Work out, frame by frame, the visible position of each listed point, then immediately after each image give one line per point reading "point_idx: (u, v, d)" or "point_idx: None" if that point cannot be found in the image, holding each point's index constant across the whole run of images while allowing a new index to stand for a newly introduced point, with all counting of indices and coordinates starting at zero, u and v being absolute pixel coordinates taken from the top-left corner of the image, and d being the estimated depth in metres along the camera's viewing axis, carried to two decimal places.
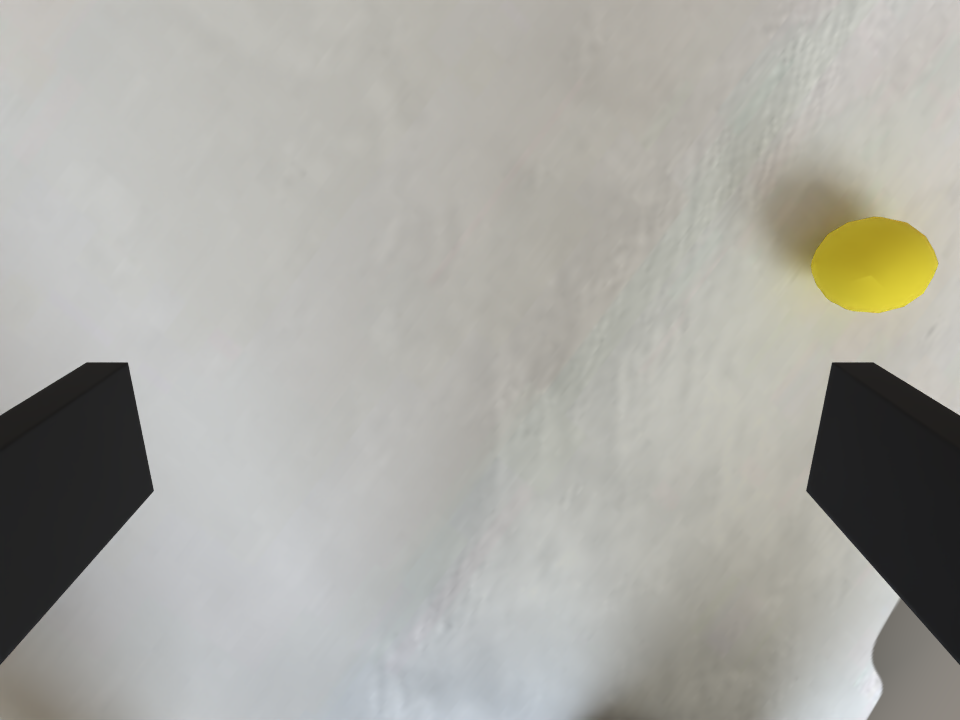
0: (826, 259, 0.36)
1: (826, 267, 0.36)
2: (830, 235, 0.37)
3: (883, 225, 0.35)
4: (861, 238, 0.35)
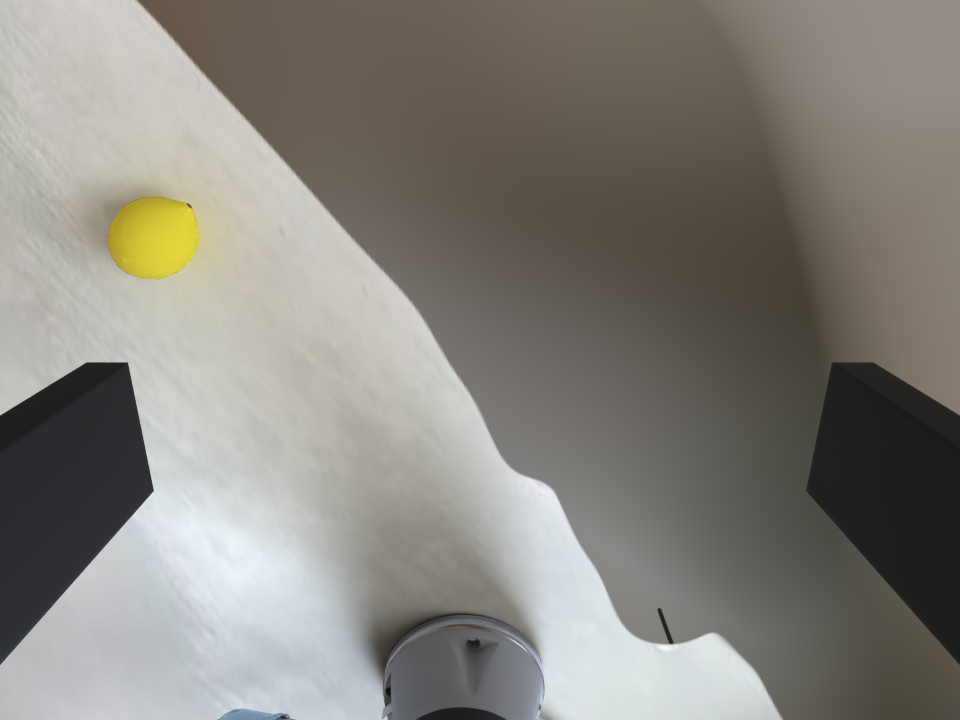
0: (114, 260, 0.45)
1: (118, 265, 0.45)
2: None
3: (117, 215, 0.44)
4: (108, 235, 0.44)
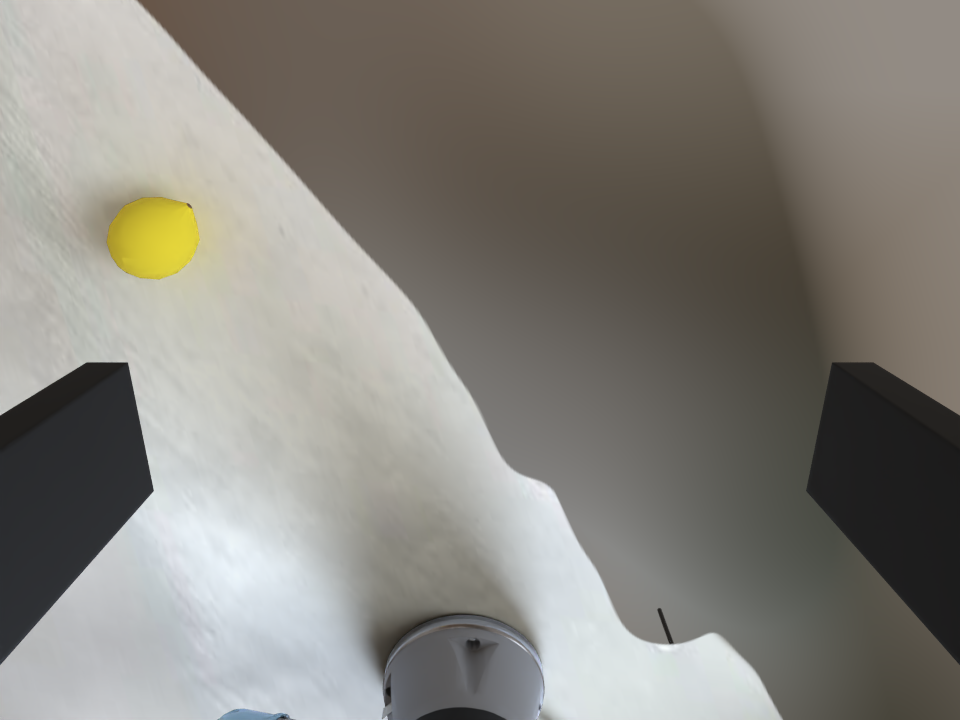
0: (114, 260, 0.45)
1: (118, 265, 0.45)
2: None
3: (117, 215, 0.44)
4: (108, 235, 0.44)
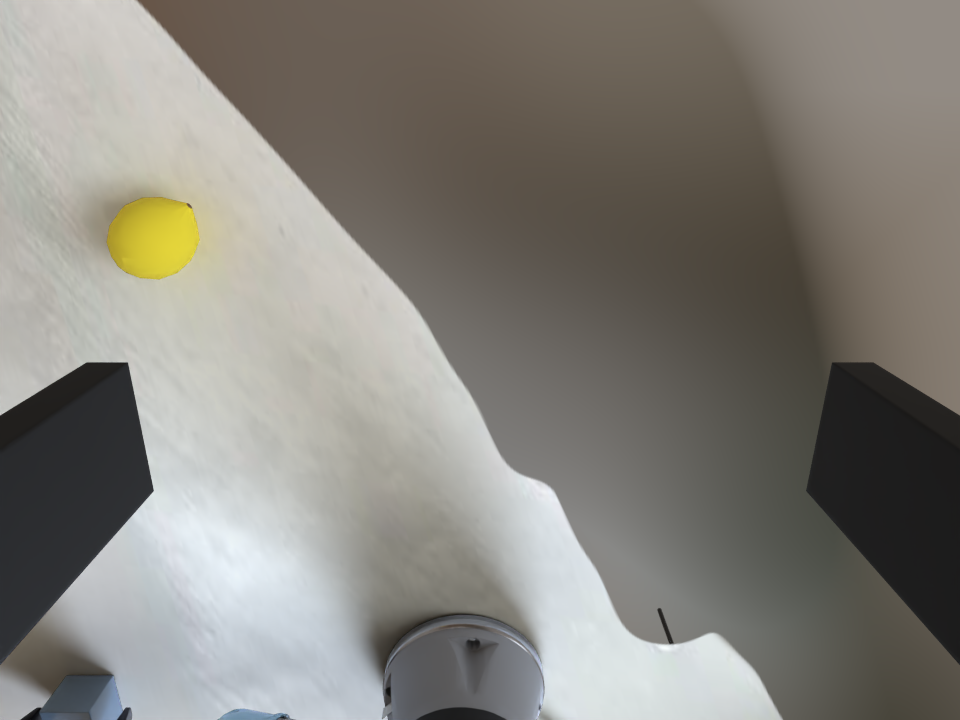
0: (114, 260, 0.45)
1: (118, 265, 0.45)
2: None
3: (117, 215, 0.44)
4: (108, 235, 0.44)
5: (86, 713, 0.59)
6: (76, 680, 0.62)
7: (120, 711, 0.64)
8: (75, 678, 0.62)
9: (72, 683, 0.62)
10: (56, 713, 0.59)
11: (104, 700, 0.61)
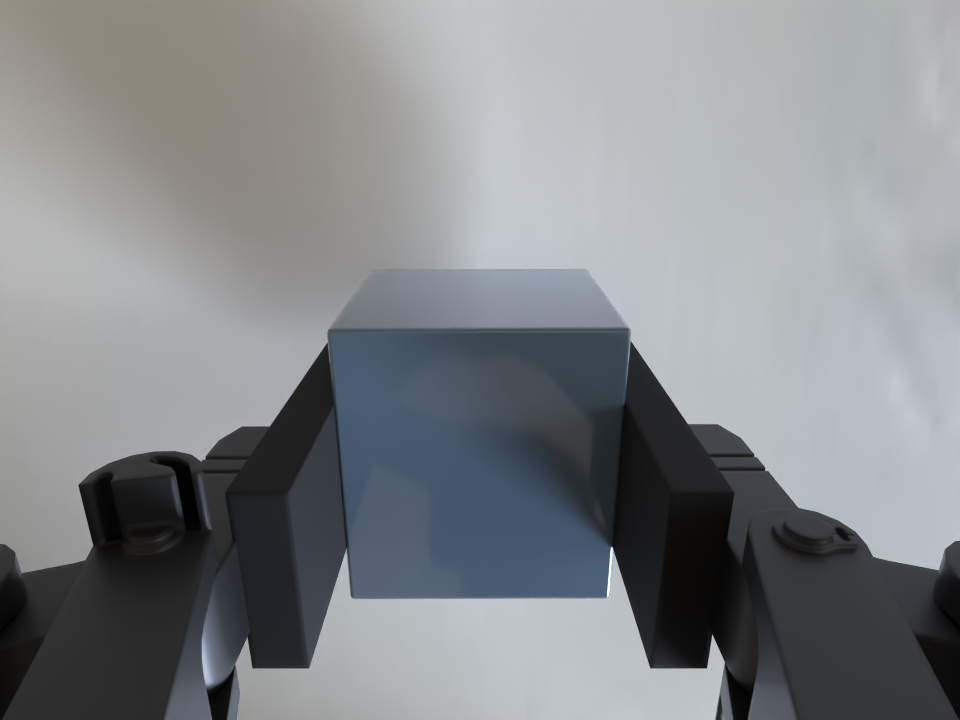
0: None
1: None
2: None
3: None
4: None
5: (615, 342, 0.10)
6: (433, 275, 0.13)
7: None
8: (421, 273, 0.13)
9: (422, 280, 0.13)
10: (431, 341, 0.10)
11: None
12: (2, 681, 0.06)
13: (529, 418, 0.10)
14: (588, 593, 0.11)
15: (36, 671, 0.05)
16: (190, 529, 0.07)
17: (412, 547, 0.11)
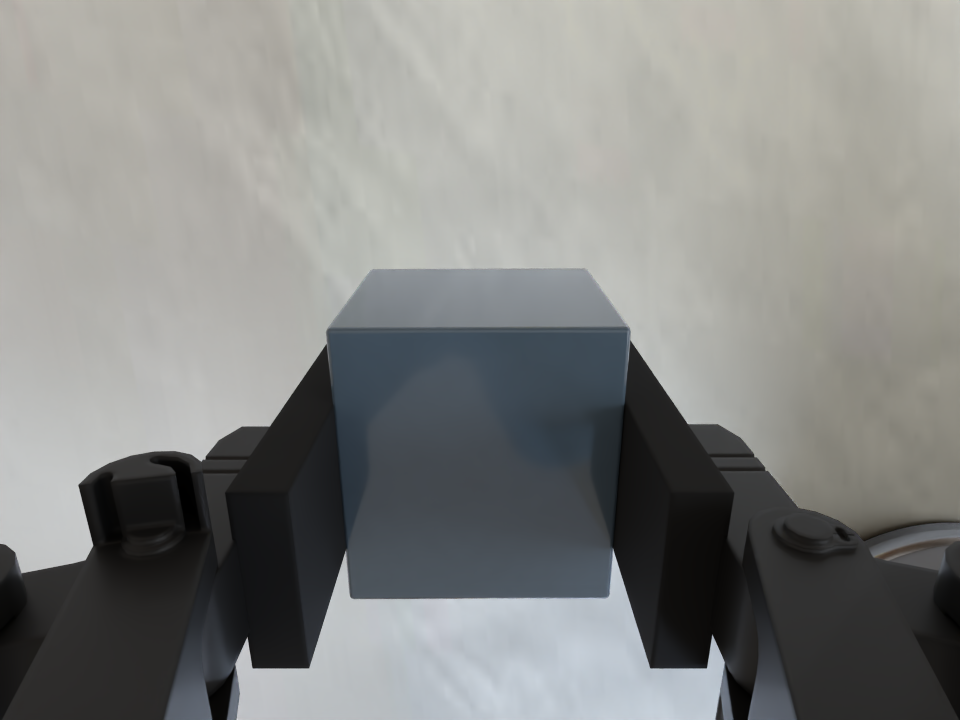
0: None
1: None
2: None
3: None
4: None
5: (614, 341, 0.10)
6: (432, 275, 0.13)
7: None
8: (421, 273, 0.13)
9: (421, 279, 0.13)
10: (429, 340, 0.10)
11: None
12: (3, 681, 0.06)
13: (528, 418, 0.10)
14: (587, 593, 0.11)
15: (36, 671, 0.05)
16: (190, 529, 0.07)
17: (411, 547, 0.11)
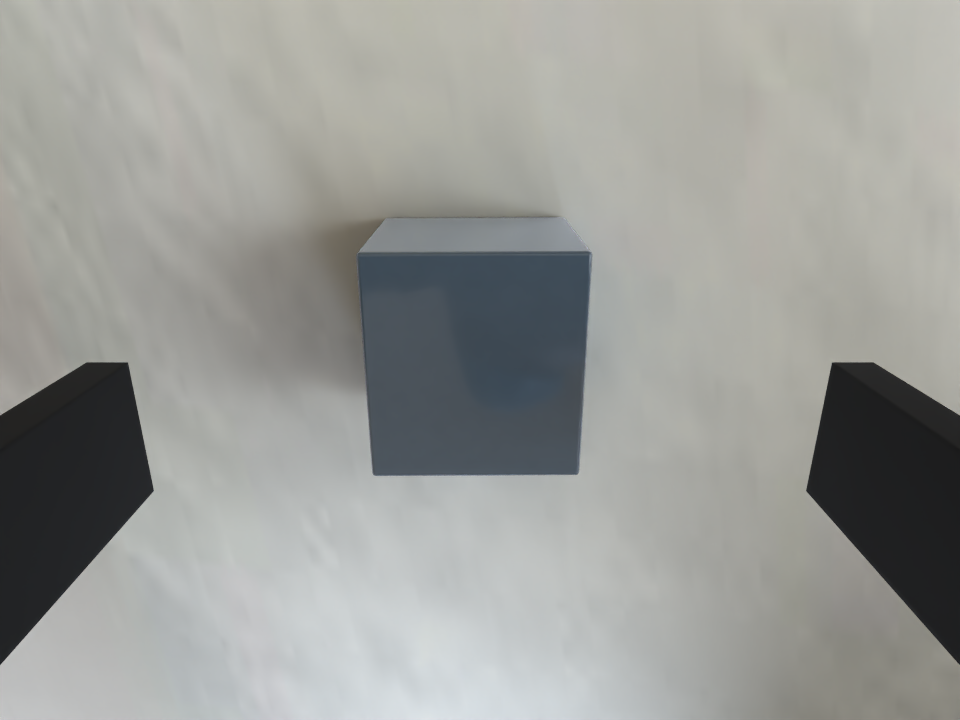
0: None
1: None
2: None
3: None
4: None
5: (579, 262, 0.13)
6: (436, 221, 0.16)
7: None
8: (427, 220, 0.16)
9: (428, 224, 0.15)
10: (436, 261, 0.12)
11: None
12: None
13: (513, 325, 0.13)
14: (561, 470, 0.14)
15: None
16: None
17: (421, 432, 0.14)
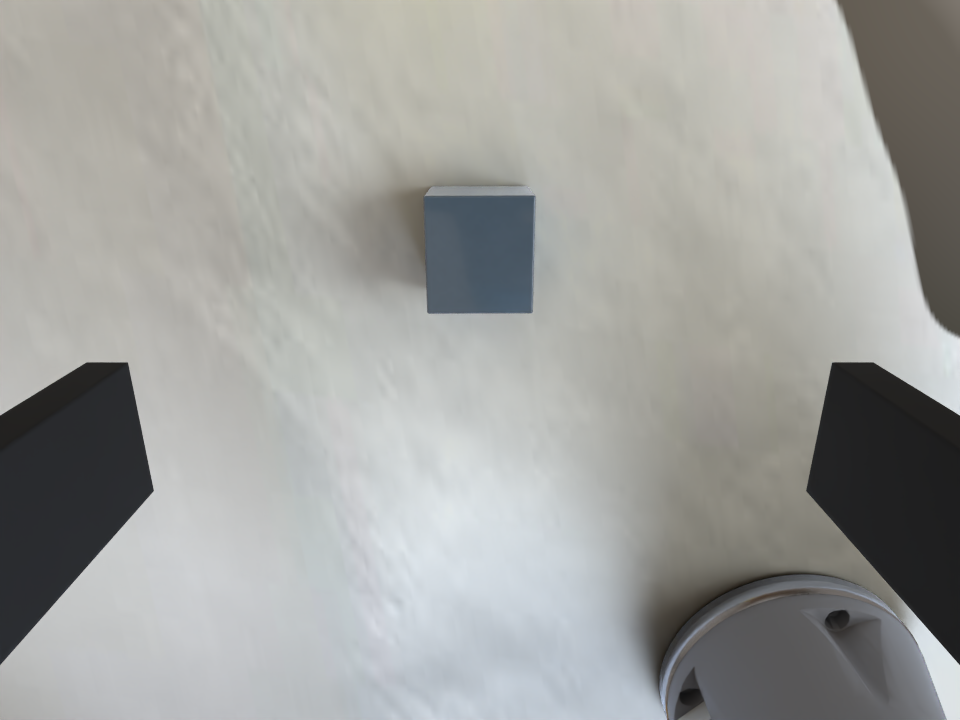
0: None
1: None
2: None
3: None
4: None
5: (529, 200, 0.26)
6: (459, 187, 0.30)
7: None
8: (454, 187, 0.30)
9: (455, 188, 0.29)
10: (461, 200, 0.26)
11: None
12: None
13: (498, 232, 0.27)
14: (523, 310, 0.28)
15: None
16: None
17: (453, 288, 0.28)
